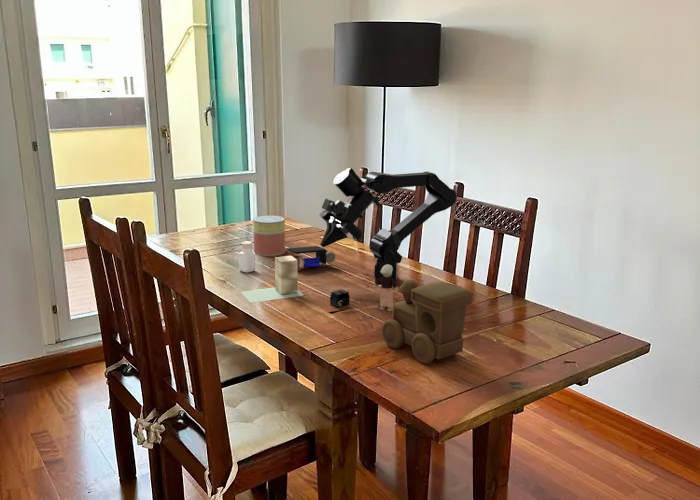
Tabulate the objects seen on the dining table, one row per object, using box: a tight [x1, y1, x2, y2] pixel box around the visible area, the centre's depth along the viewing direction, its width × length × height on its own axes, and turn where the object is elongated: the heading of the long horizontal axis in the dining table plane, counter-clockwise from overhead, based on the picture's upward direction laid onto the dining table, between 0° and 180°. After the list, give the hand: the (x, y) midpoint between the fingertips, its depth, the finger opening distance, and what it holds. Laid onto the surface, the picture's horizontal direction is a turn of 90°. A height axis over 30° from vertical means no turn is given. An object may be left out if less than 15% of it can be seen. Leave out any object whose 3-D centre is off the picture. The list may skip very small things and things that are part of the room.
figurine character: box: [286, 245, 336, 271], centre depth 215 cm, size 7×8×15 cm
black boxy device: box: [327, 289, 350, 315], centre depth 181 cm, size 13×8×5 cm, turn 129°
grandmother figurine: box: [372, 264, 400, 312], centre depth 179 cm, size 8×4×13 cm, turn 71°
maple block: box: [274, 255, 299, 295], centre depth 190 cm, size 5×5×10 cm
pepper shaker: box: [238, 240, 257, 274], centre depth 210 cm, size 4×4×10 cm
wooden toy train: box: [381, 279, 473, 365], centre depth 152 cm, size 20×11×17 cm, turn 38°
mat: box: [239, 286, 304, 304], centre depth 189 cm, size 16×10×1 cm, turn 116°
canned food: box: [252, 214, 286, 257], centre depth 232 cm, size 11×11×12 cm
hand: (321, 246), depth 192 cm, fingers closed
